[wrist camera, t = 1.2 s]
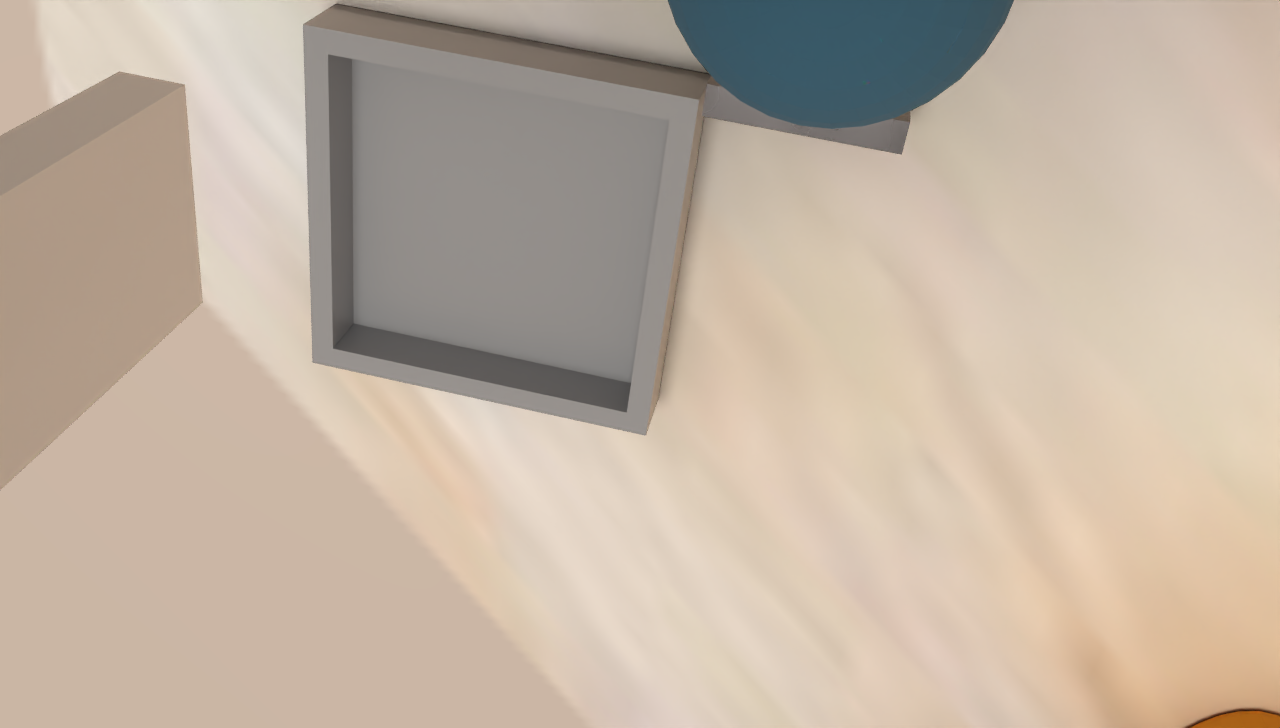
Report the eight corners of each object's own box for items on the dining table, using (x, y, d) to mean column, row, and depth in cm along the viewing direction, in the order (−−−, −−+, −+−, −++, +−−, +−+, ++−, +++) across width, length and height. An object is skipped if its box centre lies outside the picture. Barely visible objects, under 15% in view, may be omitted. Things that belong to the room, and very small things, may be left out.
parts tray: (335, 3, 39) (303, 24, 37) (710, 74, 38) (699, 99, 36) (340, 329, 46) (312, 362, 44) (658, 398, 45) (645, 435, 43)
